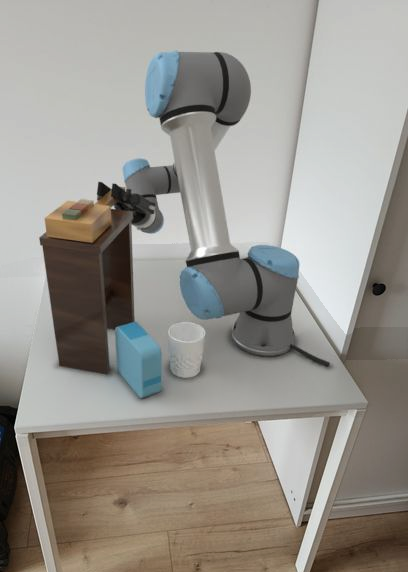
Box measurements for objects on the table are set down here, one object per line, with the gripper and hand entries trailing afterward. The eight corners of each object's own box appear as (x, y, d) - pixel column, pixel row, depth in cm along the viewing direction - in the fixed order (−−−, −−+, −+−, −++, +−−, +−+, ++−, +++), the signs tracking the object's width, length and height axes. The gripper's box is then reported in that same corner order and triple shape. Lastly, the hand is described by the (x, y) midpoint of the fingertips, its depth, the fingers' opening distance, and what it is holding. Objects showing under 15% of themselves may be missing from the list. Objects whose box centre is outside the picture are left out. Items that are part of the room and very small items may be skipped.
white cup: (207, 362, 114) (209, 326, 109) (196, 383, 108) (199, 345, 102) (174, 355, 116) (175, 318, 110) (162, 375, 110) (162, 337, 104)
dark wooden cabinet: (90, 321, 126) (79, 204, 109) (136, 329, 124) (133, 211, 107) (57, 365, 111) (38, 237, 93) (109, 374, 109) (100, 245, 92)
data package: (161, 394, 105) (162, 347, 98) (142, 401, 102) (141, 353, 96) (135, 364, 113) (133, 318, 106) (116, 370, 110) (114, 324, 103)
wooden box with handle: (102, 191, 116) (100, 171, 113) (139, 195, 115) (139, 175, 112) (46, 236, 93) (43, 212, 91) (92, 242, 92) (90, 218, 89)
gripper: (164, 229, 129) (138, 211, 105) (107, 222, 131) (69, 202, 108) (168, 200, 128) (143, 175, 105) (110, 192, 130) (74, 167, 107)
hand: (106, 189), depth 106 cm, fingers closed on wooden box with handle, 2 cm apart
